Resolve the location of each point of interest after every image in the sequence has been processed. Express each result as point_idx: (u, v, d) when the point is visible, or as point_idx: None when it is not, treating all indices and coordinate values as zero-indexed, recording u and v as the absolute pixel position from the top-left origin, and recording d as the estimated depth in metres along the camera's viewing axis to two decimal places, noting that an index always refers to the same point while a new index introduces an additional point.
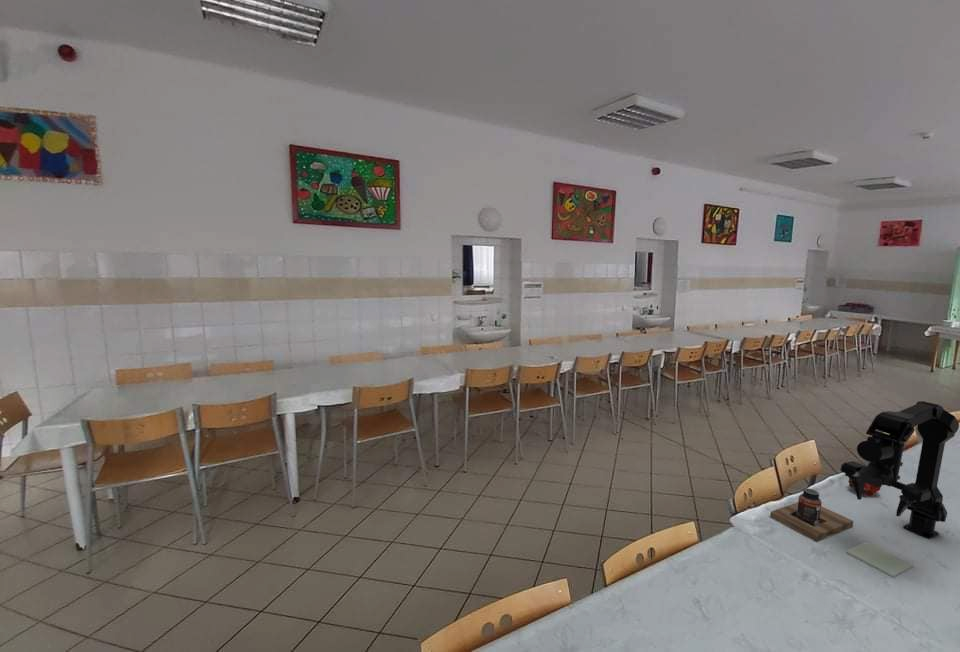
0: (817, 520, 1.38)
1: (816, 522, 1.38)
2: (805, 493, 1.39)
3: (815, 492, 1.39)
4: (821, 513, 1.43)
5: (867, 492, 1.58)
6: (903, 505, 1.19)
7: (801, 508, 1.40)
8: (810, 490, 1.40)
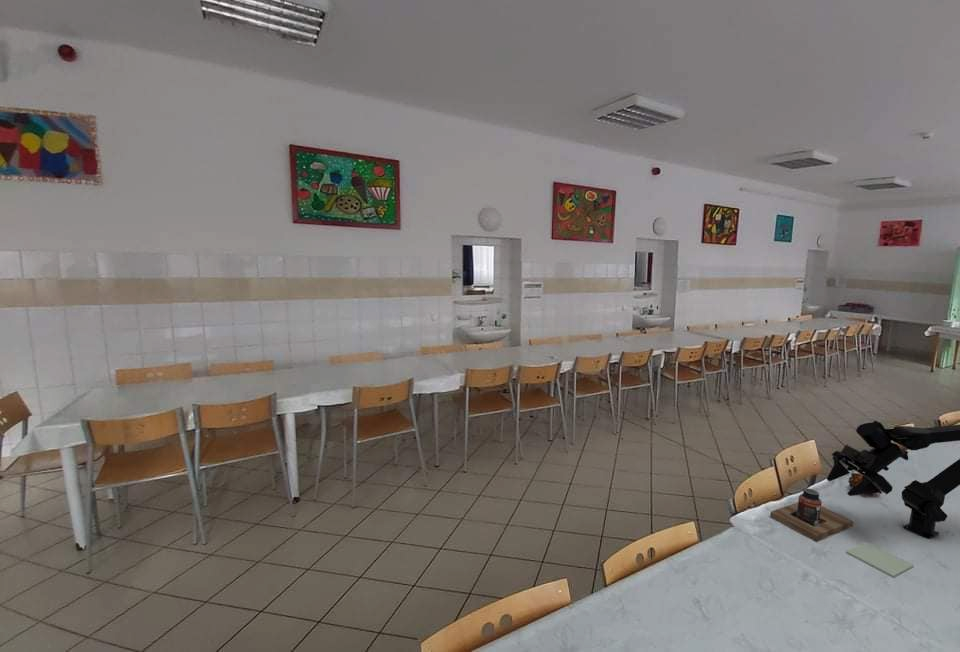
0: (817, 520, 1.38)
1: (816, 522, 1.38)
2: (805, 493, 1.39)
3: (815, 492, 1.39)
4: (821, 513, 1.43)
5: None
6: (859, 485, 1.32)
7: (801, 508, 1.40)
8: (810, 490, 1.40)
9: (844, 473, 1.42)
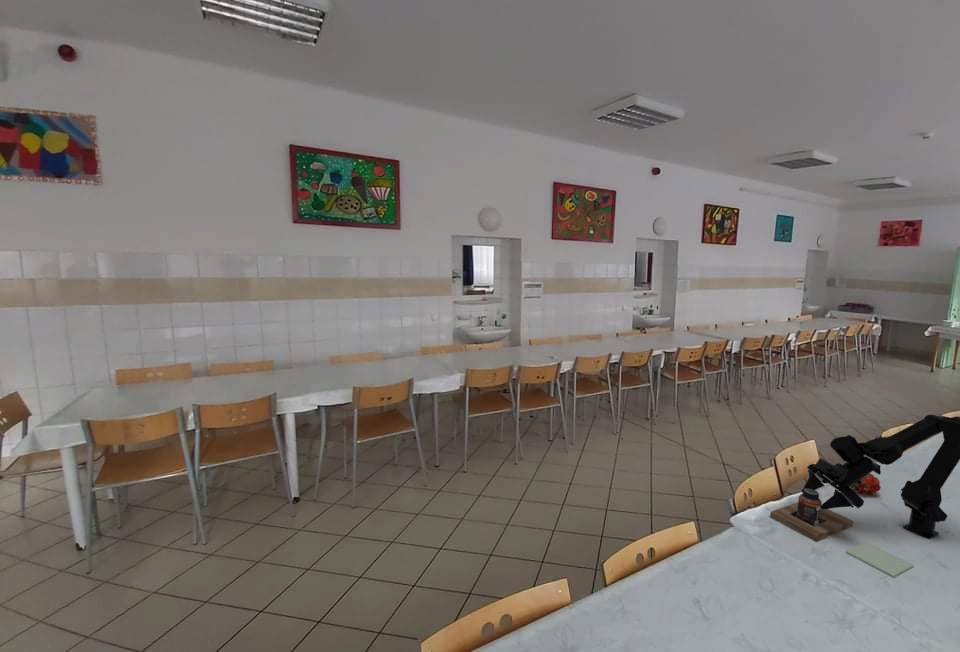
0: (817, 520, 1.38)
1: (816, 522, 1.38)
2: (805, 493, 1.39)
3: (815, 492, 1.39)
4: (821, 513, 1.43)
5: (867, 492, 1.58)
6: (832, 499, 1.33)
7: (801, 508, 1.40)
8: (810, 490, 1.40)
9: (819, 486, 1.44)
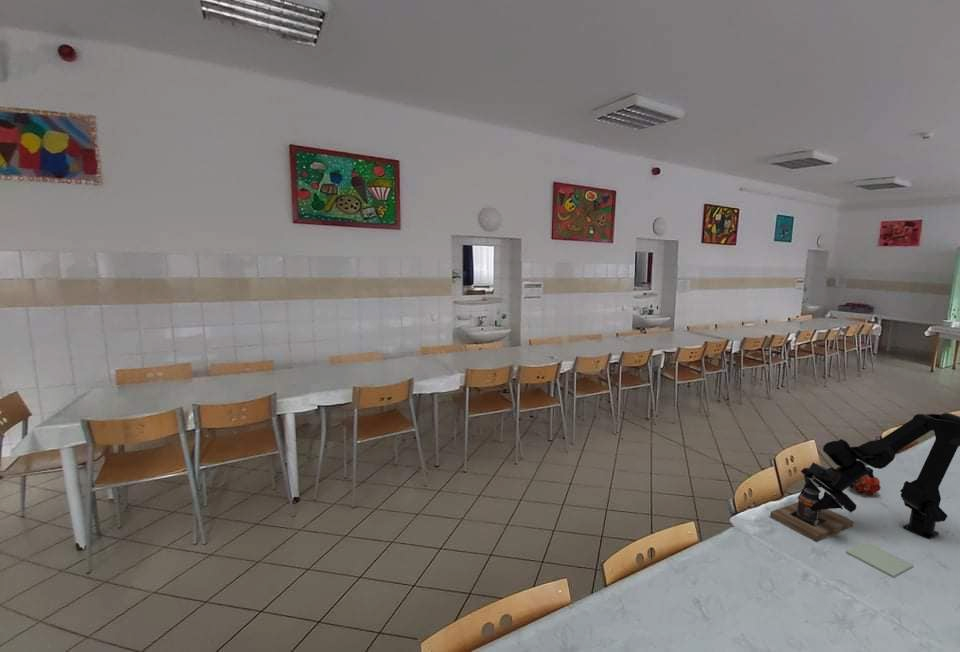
0: (817, 520, 1.38)
1: (816, 522, 1.38)
2: (805, 493, 1.39)
3: (815, 492, 1.39)
4: (821, 513, 1.43)
5: (867, 492, 1.58)
6: (822, 501, 1.35)
7: (801, 507, 1.40)
8: (810, 490, 1.40)
9: None
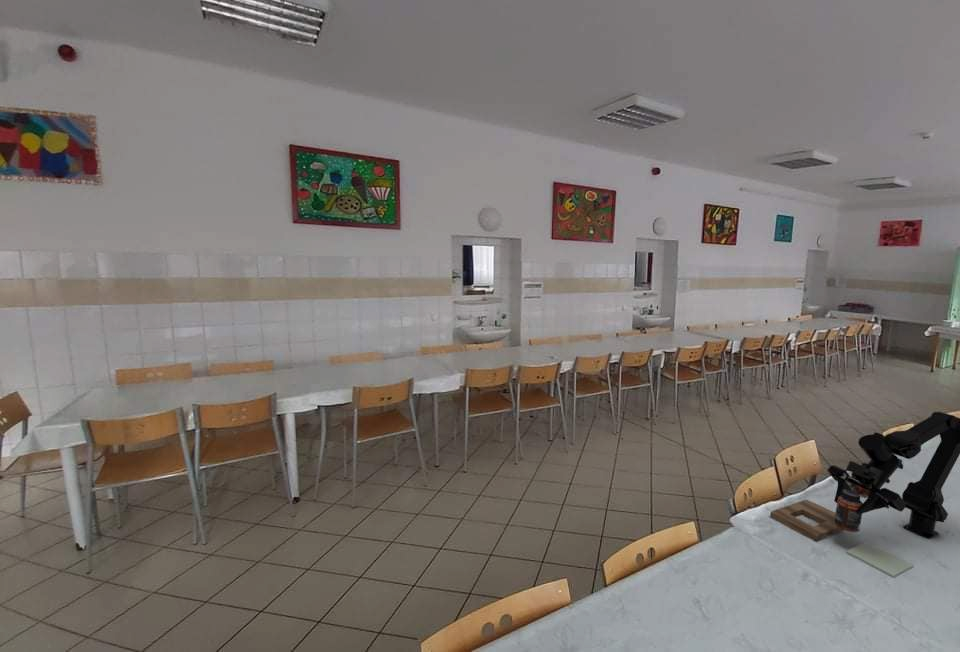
0: (860, 523, 1.27)
1: (859, 526, 1.27)
2: (847, 496, 1.28)
3: (856, 493, 1.28)
4: (821, 513, 1.43)
5: (867, 492, 1.58)
6: (868, 502, 1.24)
7: (844, 512, 1.28)
8: (850, 492, 1.28)
9: None
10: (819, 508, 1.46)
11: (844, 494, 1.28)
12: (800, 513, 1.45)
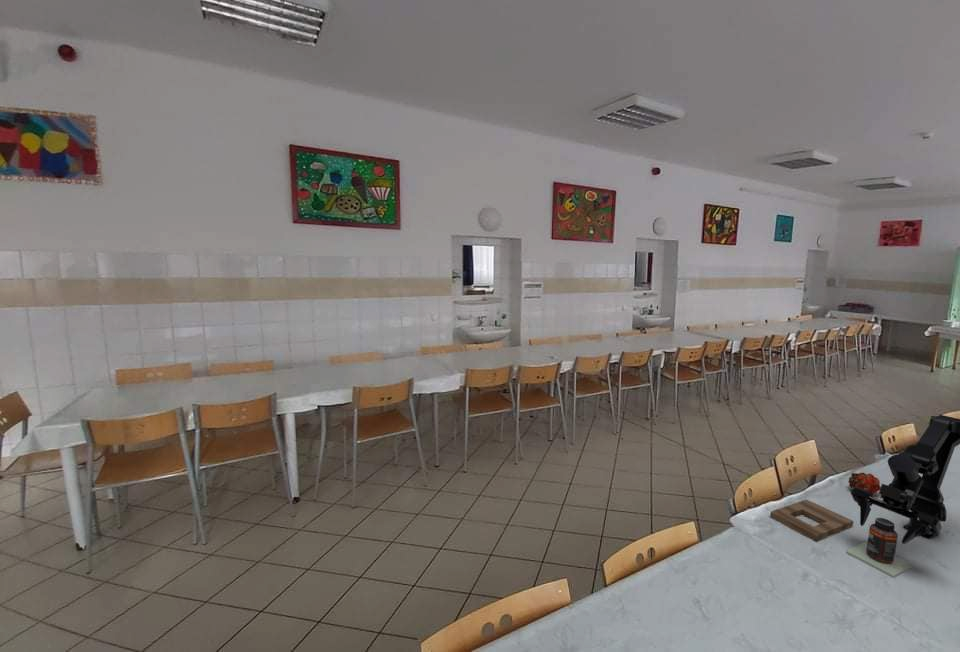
0: (894, 553, 1.22)
1: (894, 556, 1.21)
2: (883, 526, 1.21)
3: (889, 521, 1.22)
4: (821, 513, 1.43)
5: None
6: (913, 531, 1.17)
7: (881, 543, 1.21)
8: (883, 521, 1.23)
9: (869, 512, 1.28)
10: (819, 508, 1.46)
11: (879, 524, 1.22)
12: (800, 513, 1.45)
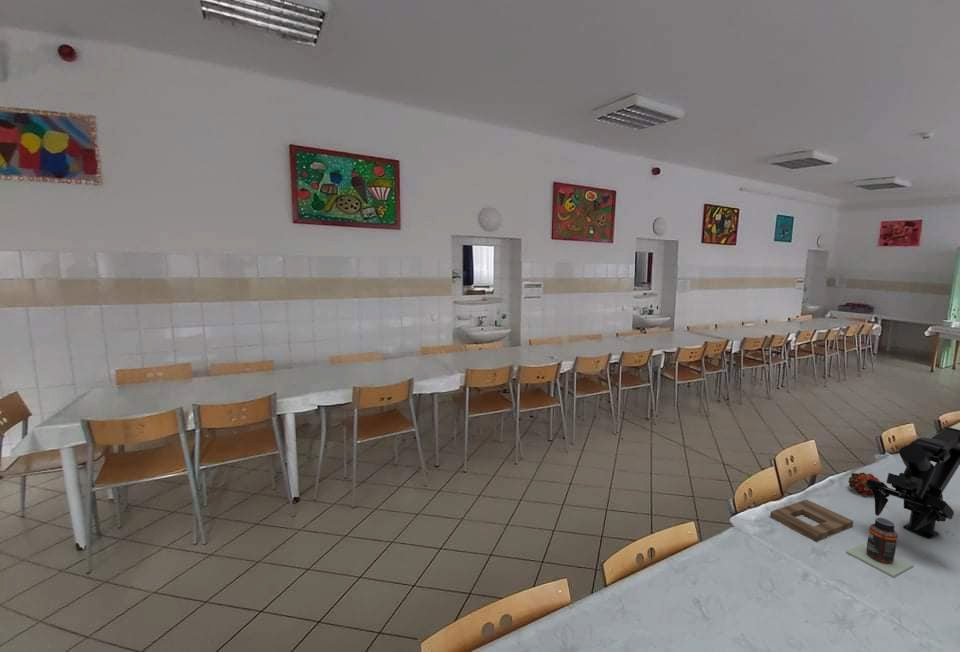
0: (894, 552, 1.22)
1: (894, 556, 1.21)
2: (883, 526, 1.21)
3: (889, 521, 1.22)
4: (821, 513, 1.43)
5: (867, 492, 1.58)
6: (924, 516, 1.22)
7: (881, 543, 1.21)
8: (883, 521, 1.23)
9: (885, 502, 1.33)
10: (819, 508, 1.46)
11: (879, 524, 1.22)
12: (800, 513, 1.45)
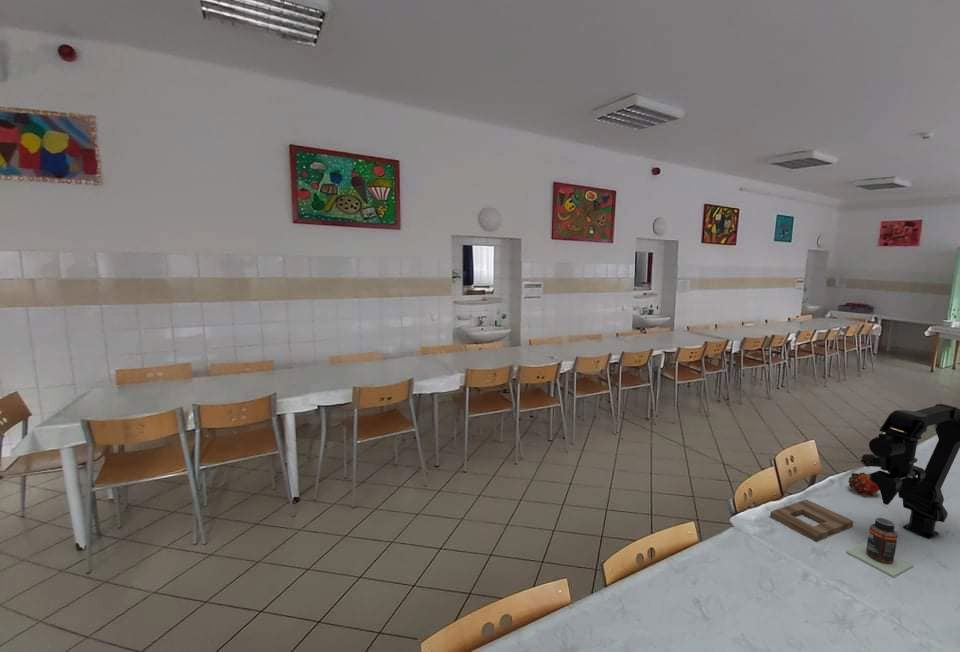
0: (894, 552, 1.22)
1: (894, 556, 1.21)
2: (883, 526, 1.21)
3: (889, 521, 1.22)
4: (821, 513, 1.43)
5: (867, 492, 1.58)
6: None
7: (881, 543, 1.21)
8: (883, 521, 1.23)
9: (912, 484, 1.31)
10: (819, 508, 1.46)
11: (879, 524, 1.22)
12: (800, 513, 1.45)
